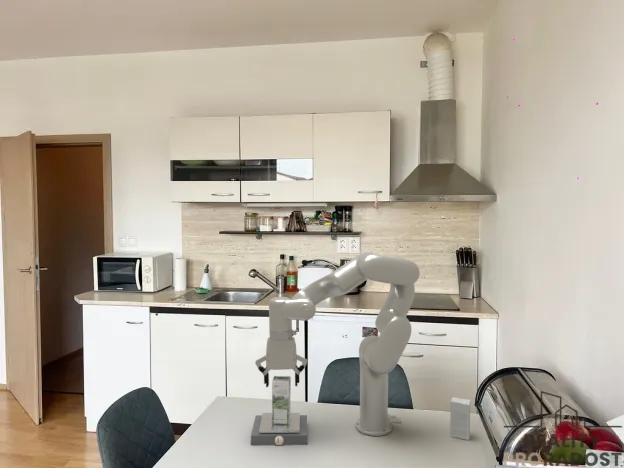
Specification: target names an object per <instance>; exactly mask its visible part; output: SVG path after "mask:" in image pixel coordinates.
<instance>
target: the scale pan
mask: <svg viewBox="0 0 624 468" xmlns="http://www.w3.org/2000/svg"><path fill="white" fill-rule="evenodd" d="M290 413H291V417H290V421H289V424H272V412H262V414H261V415H262V418H261V423H260V428H259V433H300V415H301V413H300V412H290Z"/></svg>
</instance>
